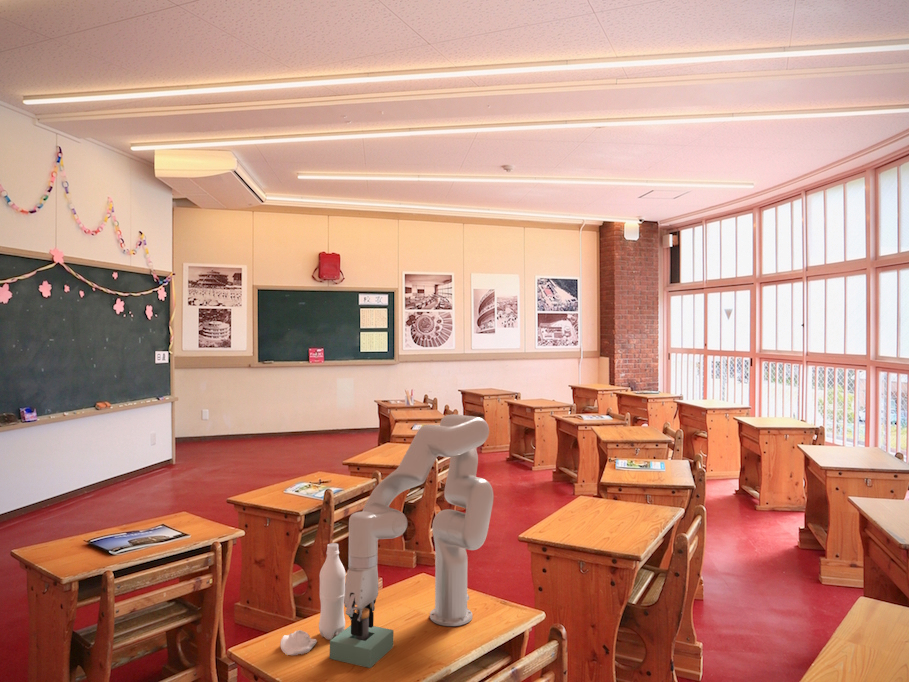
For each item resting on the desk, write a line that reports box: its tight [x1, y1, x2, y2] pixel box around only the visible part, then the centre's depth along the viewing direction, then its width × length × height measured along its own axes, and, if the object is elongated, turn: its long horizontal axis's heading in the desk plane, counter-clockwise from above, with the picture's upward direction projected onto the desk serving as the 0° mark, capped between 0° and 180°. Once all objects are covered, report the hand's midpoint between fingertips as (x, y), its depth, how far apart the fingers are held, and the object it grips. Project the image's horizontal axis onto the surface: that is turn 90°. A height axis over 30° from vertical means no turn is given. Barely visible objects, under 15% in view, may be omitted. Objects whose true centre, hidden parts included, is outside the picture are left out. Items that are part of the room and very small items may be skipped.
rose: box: [279, 629, 318, 656], centre depth 163 cm, size 10×4×10 cm
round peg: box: [355, 608, 369, 641], centre depth 160 cm, size 3×3×11 cm
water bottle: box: [318, 542, 347, 641], centre depth 170 cm, size 7×7×25 cm
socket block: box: [329, 624, 394, 669], centre depth 160 cm, size 12×12×4 cm
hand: (362, 630), depth 160 cm, fingers open, 4 cm apart
